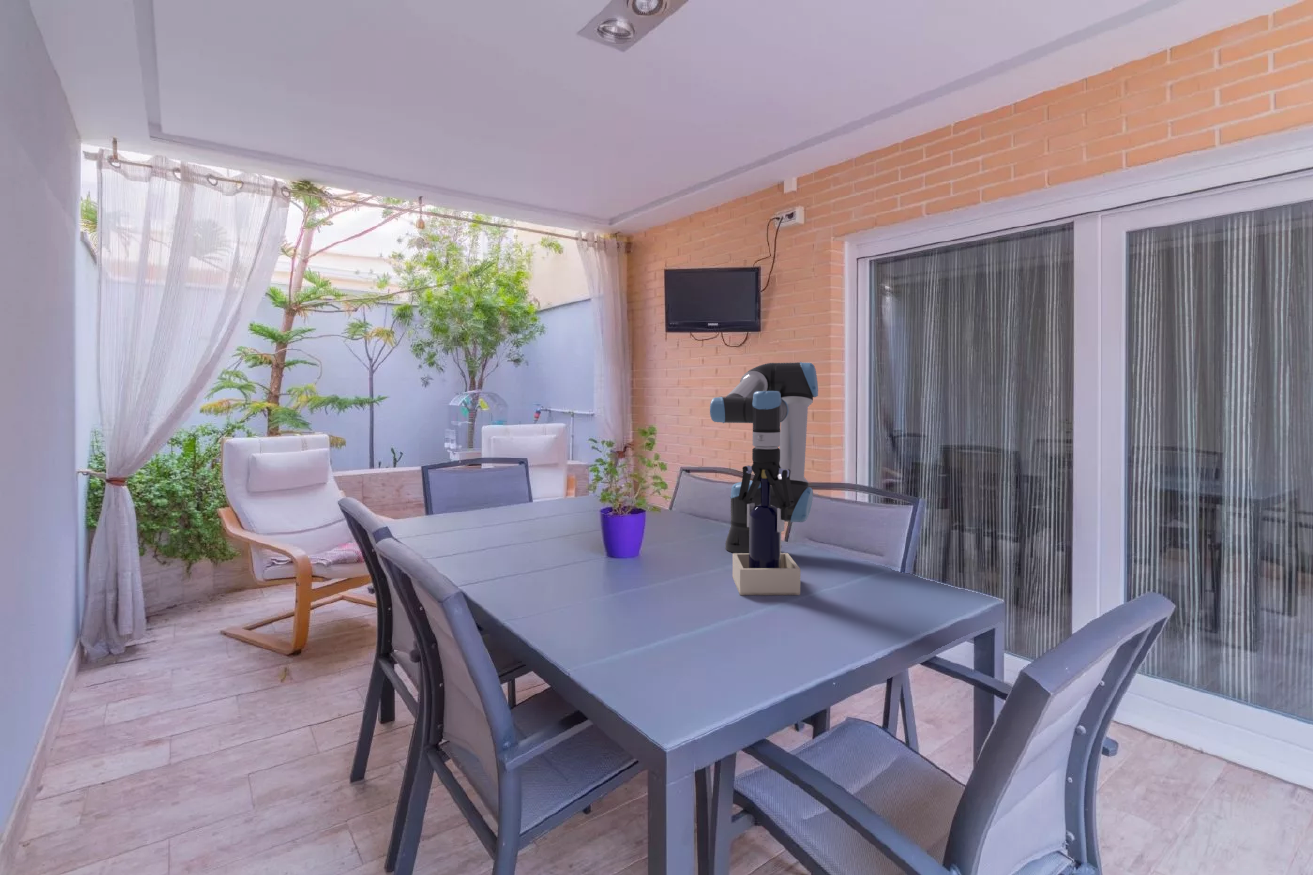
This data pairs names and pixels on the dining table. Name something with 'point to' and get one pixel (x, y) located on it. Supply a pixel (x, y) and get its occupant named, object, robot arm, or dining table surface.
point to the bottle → (764, 531)
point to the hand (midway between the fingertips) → (765, 528)
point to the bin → (766, 577)
